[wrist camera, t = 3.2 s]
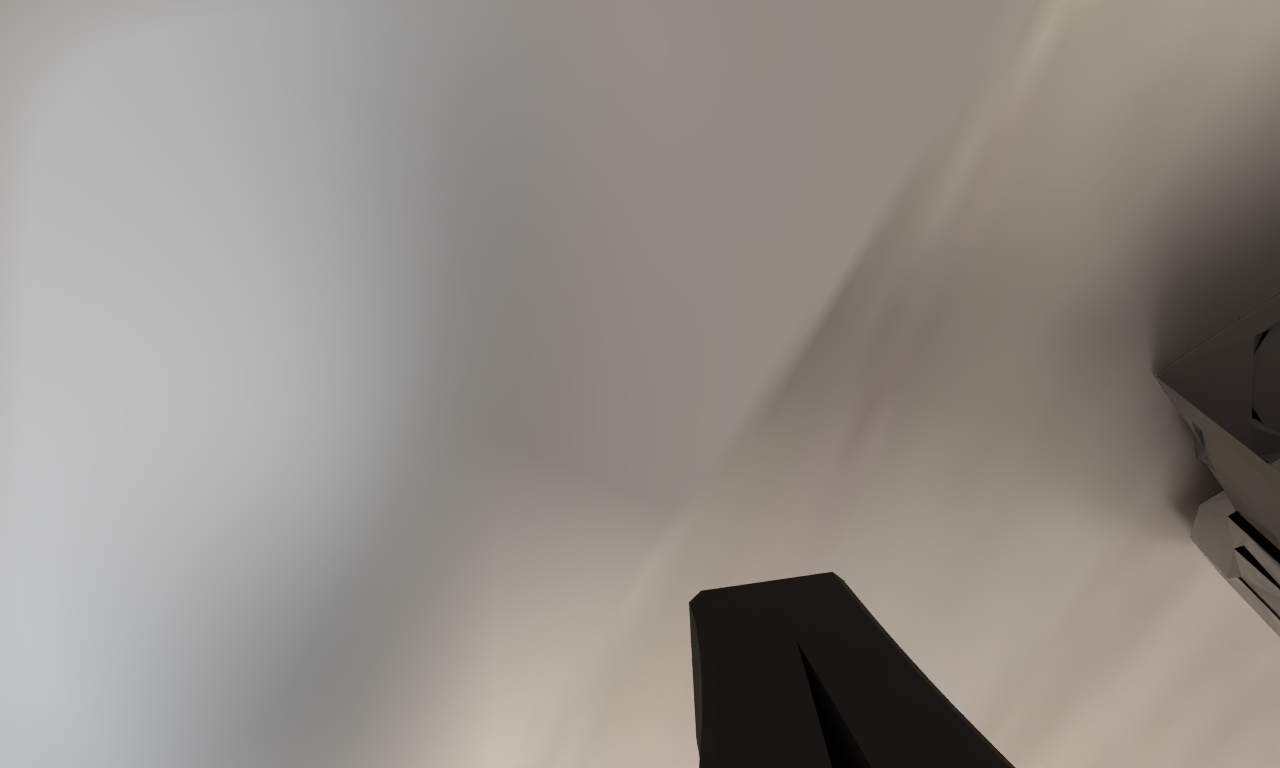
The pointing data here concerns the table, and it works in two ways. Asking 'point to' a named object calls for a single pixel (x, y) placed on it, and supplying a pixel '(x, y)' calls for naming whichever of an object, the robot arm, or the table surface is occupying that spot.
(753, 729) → the robot arm
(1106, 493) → the table surface
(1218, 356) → the electrical switch
